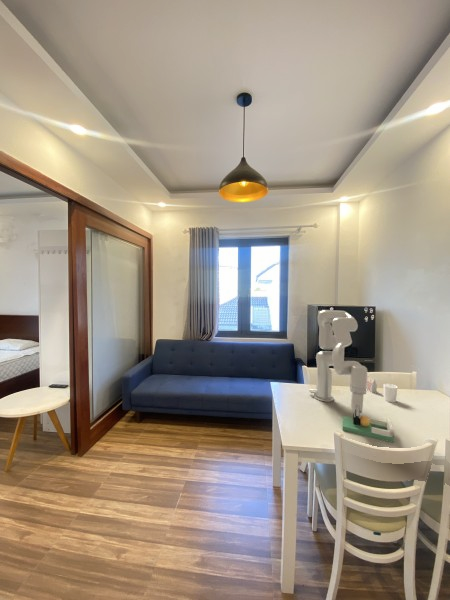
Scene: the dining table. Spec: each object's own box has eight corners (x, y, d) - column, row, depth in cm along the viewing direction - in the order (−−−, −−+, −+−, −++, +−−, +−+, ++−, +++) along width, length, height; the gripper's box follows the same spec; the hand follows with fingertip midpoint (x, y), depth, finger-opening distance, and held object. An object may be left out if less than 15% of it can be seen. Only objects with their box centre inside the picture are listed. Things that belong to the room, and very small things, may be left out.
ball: (365, 416, 126) (372, 425, 125) (364, 412, 131) (371, 421, 129) (357, 420, 128) (363, 429, 126) (356, 417, 132) (363, 426, 131)
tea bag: (369, 389, 184) (370, 375, 183) (376, 392, 177) (377, 379, 177) (365, 389, 183) (365, 375, 183) (371, 392, 176) (372, 379, 176)
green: (342, 430, 128) (343, 418, 128) (342, 419, 139) (343, 408, 138) (393, 442, 118) (393, 430, 118) (389, 429, 129) (389, 418, 129)
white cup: (379, 397, 168) (380, 383, 168) (390, 397, 169) (391, 383, 169) (388, 403, 161) (389, 388, 160) (399, 402, 161) (400, 387, 161)
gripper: (350, 382, 138) (348, 414, 139) (350, 393, 124) (348, 428, 125) (365, 385, 135) (363, 417, 136) (367, 396, 120) (365, 432, 121)
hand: (356, 422), depth 130 cm, fingers open, 3 cm apart
